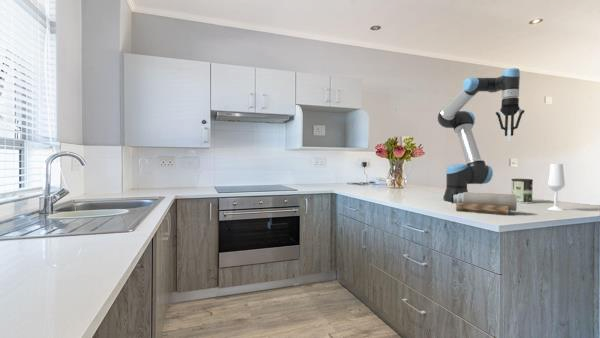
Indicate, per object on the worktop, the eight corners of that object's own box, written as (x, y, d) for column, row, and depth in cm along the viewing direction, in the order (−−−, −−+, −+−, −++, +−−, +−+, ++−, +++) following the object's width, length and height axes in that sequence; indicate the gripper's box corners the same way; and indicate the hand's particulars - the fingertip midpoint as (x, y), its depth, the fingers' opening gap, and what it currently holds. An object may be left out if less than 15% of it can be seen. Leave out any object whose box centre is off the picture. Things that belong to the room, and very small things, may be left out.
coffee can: (531, 201, 176) (531, 178, 175) (533, 203, 167) (534, 180, 166) (510, 200, 181) (510, 178, 180) (511, 202, 172) (512, 179, 172)
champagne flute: (560, 208, 151) (561, 163, 150) (567, 211, 145) (568, 163, 144) (544, 208, 153) (545, 163, 152) (550, 210, 147) (551, 164, 146)
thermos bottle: (515, 207, 143) (452, 202, 159) (515, 192, 141) (452, 189, 157) (516, 213, 137) (450, 208, 152) (516, 198, 135) (450, 194, 151)
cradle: (506, 209, 151) (506, 202, 151) (508, 215, 136) (508, 207, 136) (459, 206, 163) (459, 199, 163) (456, 211, 148) (456, 203, 148)
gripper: (495, 98, 155) (494, 142, 156) (526, 95, 147) (524, 141, 149) (495, 100, 161) (494, 142, 162) (524, 97, 153) (523, 141, 155)
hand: (508, 142), depth 156 cm, fingers closed
